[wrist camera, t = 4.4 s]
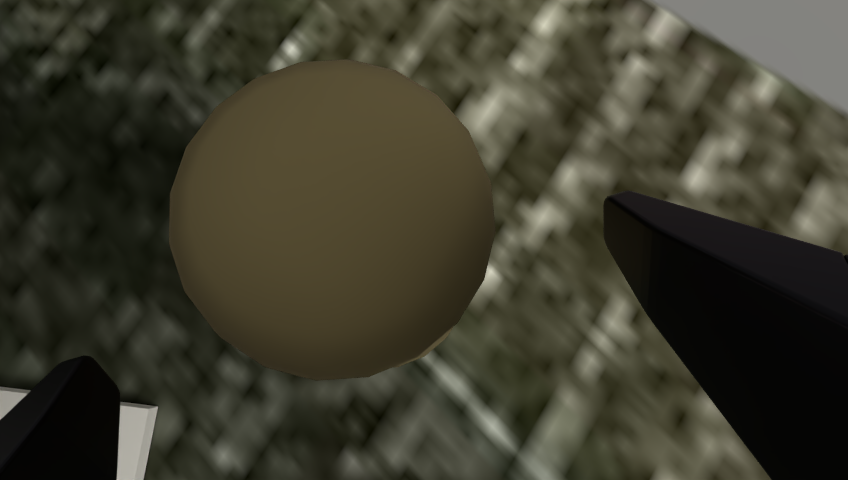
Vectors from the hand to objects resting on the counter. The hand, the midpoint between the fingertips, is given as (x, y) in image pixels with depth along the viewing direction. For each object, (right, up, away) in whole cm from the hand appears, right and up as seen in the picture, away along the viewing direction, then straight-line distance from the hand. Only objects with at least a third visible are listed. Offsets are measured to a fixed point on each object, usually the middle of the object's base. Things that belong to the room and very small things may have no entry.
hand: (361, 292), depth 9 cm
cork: (0, 0, +9) cm, 9 cm away
